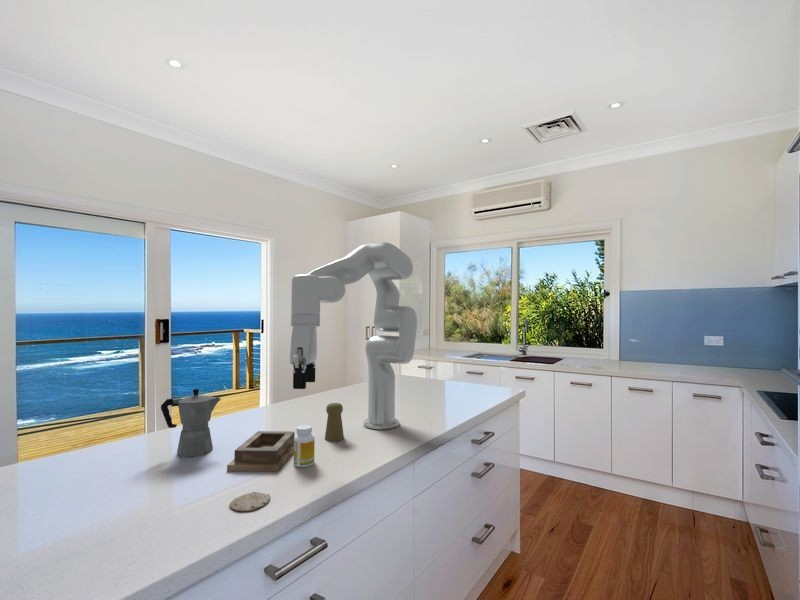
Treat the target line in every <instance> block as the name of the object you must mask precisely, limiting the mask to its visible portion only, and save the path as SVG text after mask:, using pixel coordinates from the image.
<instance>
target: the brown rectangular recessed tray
mask: <svg viewBox="0 0 800 600" xmlns="http://www.w3.org/2000/svg"><path fill="white" fill-rule="evenodd" d="M294 437H295V431H290V430H289V431H283V430H281V431H280V430H278V431H277V430H275V431H271V430H269V431H268V430H263V431H262V430H258V431H256V432H255V433H254V434H252V435H251V436H250V437H249V438H248V439H247V440H245V441H244V442H243V443H242V444H240V445H239V446H238V447H237V448H236V449H235V450H234V458H233V459H232V460H231V461H230V462H229V463H227V465H226V471H227V472H271V473H272V472H275V473H276V472H279V471H280V470H281V469H282V467H283V466H284V465H285V463H286V462H287V461H288V460H289V458H290V457H291V456H292V455H293V454H294Z"/></svg>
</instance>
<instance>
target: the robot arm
mask: <svg viewBox="0 0 800 600" xmlns="http://www.w3.org/2000/svg"><path fill="white" fill-rule="evenodd" d="M413 270H414V266H413V262H412V260H411V258H410V257H409V256H408V255H407V253H405V252H404V251H403V250H401V249H400V248H398V247H397V246H396V245H394V244H392V243H390V242H387V241H385V242H378V243H377V242H375V243H366V244H363V245H360V246H358V247H357V248H356V249H354V250H353V251H352V252H350V253H349V254H347V255H346V256H344V257H343V258H341V259H337V260H334V261H333V262H330V263H327V264H326V265H323V266H320V267H318V268H316V269H313V270H312V271H310V272H308V273H306V274H296V275H294V276H293V277H292V279H291V301H290V302H291V304H290V305H291V306H290V309H291V310H290V311H291V312H290V326H291V327H292V331H291V339H290V353H289V362H290V365H292V366H293V369H292V388H293V389H294V390H305V389H307V383H315V382H316V360H317V356H318V355H317V354H318V343H317V342H318V338H317V337H318V335H317V334H318V333H317V331H318V330H317V327H321V325H320V324H321V304H333V303H337V302H339V301H342V299H343V298H344V296H345V294H346V286H347V285H351V284H354V283H356V282H359V281H360V280H361V279H362V278H364V277H365V276H366V275H367V274H368V275H369V277H370V279H371V281H372V283H373V285H374V287H375V292H376V298H375V299H376V300H375V307H374V313H373V327H374V329H375V330H377V331H378V332H381V333H398V335H381V334H380V335H374V336H372V337H370V338H369V339H368V340H367V341H366V344H365V355H366V360H367V370H368V371H367V373H368V374H367V375H368V377H367V378H368V381H367V382H368V385H367V387H368V388H367V389H368V391H367V393H368V396H367V397H368V399H367V403H368V404H367V405H368V407H367V410H368V411H367V416H368V417H367V418H366V419H364V420H363V426H364V427H366V428H368V429H371V430H390V429H394V427H395V428H397V427H399V425H400V420H399V419H397V418H396V374H395V371H394V370H395V369H394V368H393V366H392V364H398V365H403V364H404V365H406V364H409V363H410V362H411V361H412V359H413V358H414V354H415V346H416V337H417V336H416V335H417V328H418V317H417V314H416V311H415V309H414V308H413V307H411V306H409V305H400V296H401V295H400V291H399V289H398V287H397V285H396V284H395V283H394V281H395V280H398V281H399V280H407V279H408V278H410V277H411V276H412V274H413ZM393 280H394V281H393Z"/></svg>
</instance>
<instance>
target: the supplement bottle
mask: <svg viewBox="0 0 800 600" xmlns="http://www.w3.org/2000/svg"><path fill="white" fill-rule="evenodd" d="M312 432H313V426H312V425H307V424H301V425H299V426H296V434H295V435H294V452H293V465H294V466H295V467H297V468H307V467H311V466H313V465H314V464H315V443H316V442H315V441H316V440H315V435H314V434H313V433H312Z"/></svg>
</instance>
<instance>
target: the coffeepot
mask: <svg viewBox="0 0 800 600" xmlns="http://www.w3.org/2000/svg"><path fill="white" fill-rule="evenodd" d="M199 391H200V389H199V388H194V389H192V392H193V394H192V395H190V396H189V395H188V396H186V397H183V398H179V397H178V398H167V399H166V400H164V402H163V403H162V404H160V410H161V412H162V415H163V417H164V420H165V423H166V426H167V427H168V428H170V429H172V428H173V429H174V428H177V426H178V424H177V423H173V422H172V417H171V415H170V409H169V408H168V407H169V406H176V407H178V413H179V418H180V424H181V425H182V429H181V431H180V436H179V439H178V445H177V451H176V453H177V454H179V455H180V456H179V455H178V456H179V457H182V456H184V457H183V458H192V457H191V456H194V457H199V456H198V455H200V456H203V455H206V454H208V453H210V452H211V451H212V450H213V449H214V446H213V442H212V436H211V430H210V427H209V422H210V421H211V417H212V412H213V411H214V409H215V407H216V406H217V404H218V403H219V402H220V401H221V400H222V399H221V397H218V396H210V395H204V394H199ZM209 451H210V452H209ZM205 453H206V454H205ZM202 454H203V455H202ZM185 456H186V457H185Z"/></svg>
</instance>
